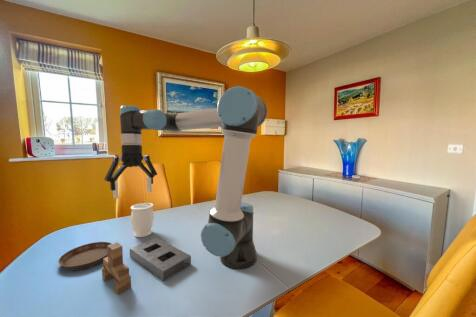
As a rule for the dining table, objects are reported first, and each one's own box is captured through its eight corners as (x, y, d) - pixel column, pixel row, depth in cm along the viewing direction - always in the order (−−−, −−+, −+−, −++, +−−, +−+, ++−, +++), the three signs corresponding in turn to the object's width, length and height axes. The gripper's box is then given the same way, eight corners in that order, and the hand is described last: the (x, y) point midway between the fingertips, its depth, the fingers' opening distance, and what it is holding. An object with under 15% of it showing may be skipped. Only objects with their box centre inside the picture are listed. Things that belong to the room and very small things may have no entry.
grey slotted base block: (190, 264, 78) (190, 255, 78) (163, 281, 68) (163, 271, 68) (156, 245, 92) (156, 237, 92) (129, 256, 83) (129, 248, 82)
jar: (145, 239, 97) (144, 209, 96) (126, 237, 99) (125, 208, 98) (158, 230, 108) (157, 203, 106) (141, 228, 110) (140, 201, 108)
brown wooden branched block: (131, 287, 65) (129, 249, 64) (118, 294, 62) (116, 254, 61) (114, 272, 73) (113, 238, 72) (102, 278, 70) (100, 242, 69)
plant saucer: (45, 274, 72) (44, 266, 71) (80, 248, 89) (80, 242, 89) (96, 272, 73) (96, 264, 73) (121, 247, 90) (121, 241, 90)
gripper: (155, 144, 95) (156, 188, 96) (93, 144, 76) (95, 199, 77) (164, 144, 90) (165, 190, 92) (99, 144, 71) (102, 203, 72)
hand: (133, 194), depth 84 cm, fingers open, 13 cm apart
